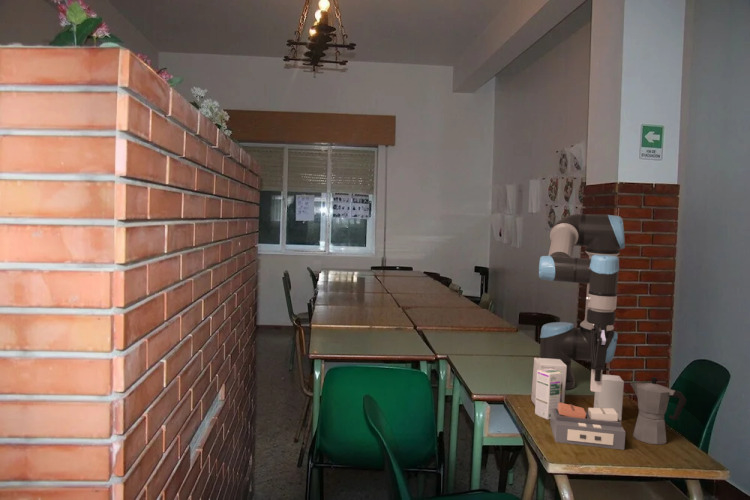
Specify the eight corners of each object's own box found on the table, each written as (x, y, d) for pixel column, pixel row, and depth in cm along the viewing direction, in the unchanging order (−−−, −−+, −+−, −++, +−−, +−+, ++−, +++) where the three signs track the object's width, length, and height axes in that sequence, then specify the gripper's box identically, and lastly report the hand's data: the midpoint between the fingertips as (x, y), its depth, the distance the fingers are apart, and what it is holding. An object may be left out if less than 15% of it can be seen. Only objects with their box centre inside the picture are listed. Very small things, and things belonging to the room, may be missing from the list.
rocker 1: (557, 408, 170) (558, 401, 169) (581, 414, 168) (583, 407, 168) (559, 414, 165) (561, 406, 164) (584, 420, 163) (586, 412, 163)
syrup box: (547, 420, 179) (550, 373, 178) (534, 413, 184) (536, 368, 183) (561, 417, 181) (564, 372, 180) (547, 411, 186) (550, 367, 185)
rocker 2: (588, 414, 168) (588, 406, 168) (613, 415, 167) (613, 407, 167) (591, 420, 163) (591, 412, 163) (617, 421, 162) (617, 413, 162)
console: (550, 424, 175) (551, 404, 174) (613, 431, 171) (614, 410, 171) (555, 442, 161) (557, 420, 160) (624, 450, 157) (626, 428, 157)
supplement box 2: (621, 421, 180) (624, 381, 180) (596, 418, 182) (599, 379, 181) (616, 413, 188) (619, 375, 187) (592, 411, 189) (595, 373, 188)
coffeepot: (619, 435, 168) (624, 374, 167) (633, 428, 175) (637, 369, 174) (675, 452, 157) (681, 387, 156) (688, 444, 164) (693, 382, 163)
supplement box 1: (536, 408, 189) (539, 363, 188) (530, 400, 198) (533, 357, 197) (564, 410, 188) (567, 365, 187) (557, 401, 197) (560, 358, 196)
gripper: (583, 304, 170) (578, 383, 172) (591, 312, 158) (585, 396, 160) (610, 306, 169) (604, 385, 171) (620, 314, 156) (614, 399, 158)
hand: (595, 390), depth 165 cm, fingers closed
